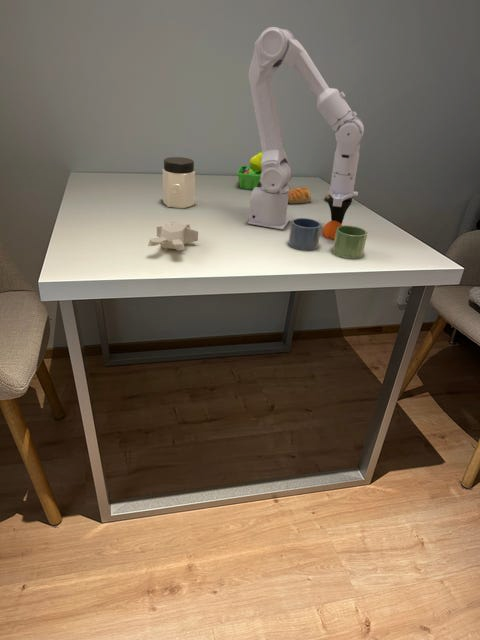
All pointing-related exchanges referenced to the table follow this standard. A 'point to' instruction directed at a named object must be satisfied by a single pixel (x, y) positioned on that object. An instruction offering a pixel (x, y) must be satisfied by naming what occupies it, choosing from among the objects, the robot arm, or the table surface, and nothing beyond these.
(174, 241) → the white toy turtle
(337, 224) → the ball
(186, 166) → the jar
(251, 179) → the fruit basket
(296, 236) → the slate cup
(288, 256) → the table surface
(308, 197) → the pastry
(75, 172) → the table surface
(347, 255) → the sage cup
